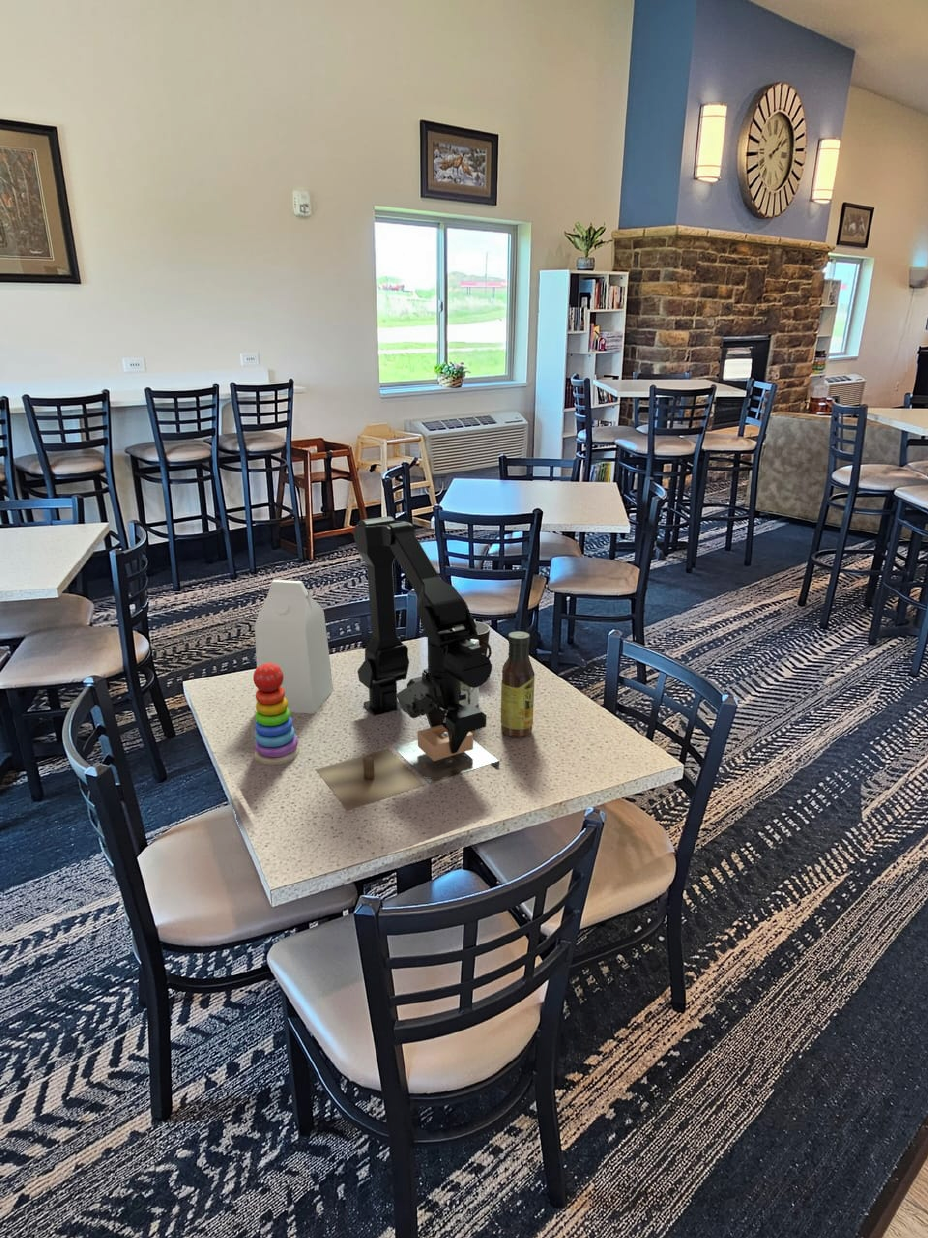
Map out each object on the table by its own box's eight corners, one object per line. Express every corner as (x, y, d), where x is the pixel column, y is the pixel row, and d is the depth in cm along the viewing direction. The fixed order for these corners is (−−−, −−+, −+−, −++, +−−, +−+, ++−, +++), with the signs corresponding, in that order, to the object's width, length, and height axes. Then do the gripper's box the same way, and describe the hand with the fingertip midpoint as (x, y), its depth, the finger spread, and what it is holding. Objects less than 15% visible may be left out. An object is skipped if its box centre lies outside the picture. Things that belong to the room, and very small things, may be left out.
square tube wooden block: (417, 746, 136) (417, 731, 135) (456, 734, 140) (455, 720, 139) (433, 761, 132) (433, 746, 130) (472, 749, 135) (472, 734, 134)
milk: (333, 689, 164) (325, 574, 154) (314, 713, 153) (304, 592, 144) (281, 685, 165) (270, 571, 156) (258, 709, 155) (245, 588, 146)
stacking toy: (251, 751, 139) (241, 658, 132) (295, 743, 142) (286, 651, 135) (258, 773, 132) (247, 676, 126) (304, 763, 135) (295, 668, 129)
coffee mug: (450, 661, 177) (450, 621, 174) (487, 660, 178) (487, 620, 175) (455, 682, 166) (455, 641, 163) (494, 681, 167) (495, 639, 164)
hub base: (393, 751, 139) (392, 725, 137) (459, 732, 146) (459, 707, 144) (430, 788, 128) (429, 760, 126) (499, 765, 134) (499, 739, 133)
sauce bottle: (530, 740, 143) (533, 643, 136) (497, 737, 144) (499, 640, 137) (534, 724, 149) (537, 630, 142) (503, 721, 150) (505, 627, 143)
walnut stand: (316, 774, 132) (314, 752, 130) (388, 753, 138) (387, 731, 137) (347, 815, 120) (345, 791, 119) (424, 790, 127) (424, 767, 126)
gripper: (379, 656, 134) (382, 734, 139) (429, 697, 119) (430, 782, 124) (434, 644, 139) (435, 719, 145) (488, 681, 124) (487, 764, 130)
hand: (445, 745), depth 136 cm, fingers closed on square tube wooden block, 6 cm apart
